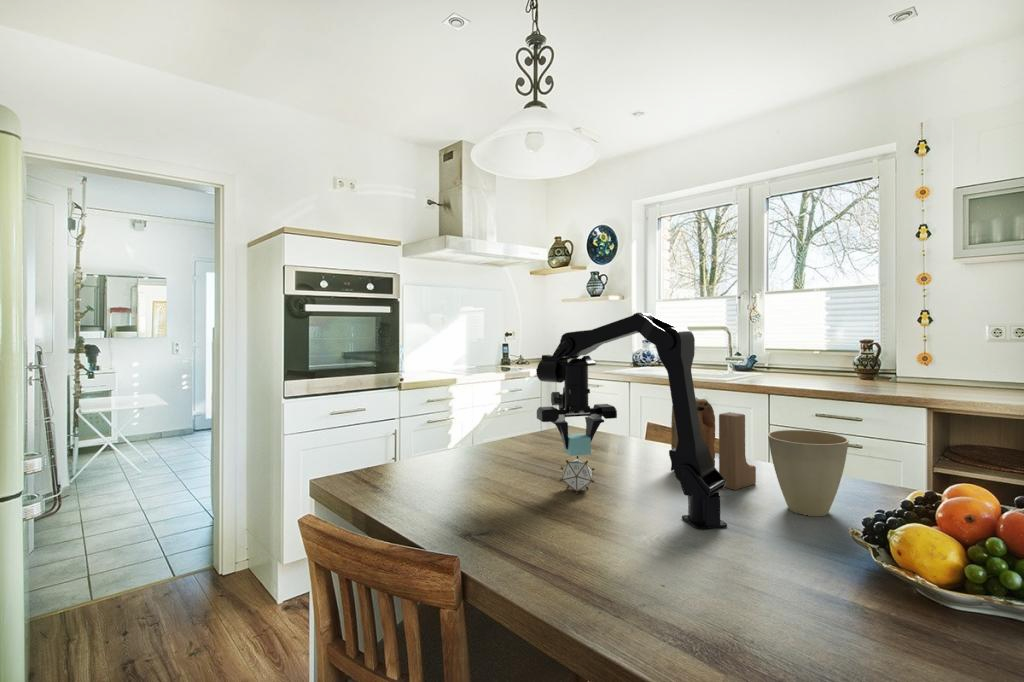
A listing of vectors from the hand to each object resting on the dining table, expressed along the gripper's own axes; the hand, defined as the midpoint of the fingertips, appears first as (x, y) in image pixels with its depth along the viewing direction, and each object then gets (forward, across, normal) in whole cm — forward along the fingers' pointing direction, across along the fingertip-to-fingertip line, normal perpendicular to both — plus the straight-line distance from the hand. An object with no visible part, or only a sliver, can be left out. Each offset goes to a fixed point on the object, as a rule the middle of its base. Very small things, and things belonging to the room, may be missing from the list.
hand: (577, 448), depth 124 cm
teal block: (+1, 0, 0) cm, 1 cm away
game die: (+11, 0, 0) cm, 11 cm away
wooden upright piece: (+11, -36, -8) cm, 38 cm away
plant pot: (+11, -43, +24) cm, 51 cm away
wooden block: (+11, -40, +5) cm, 42 cm away
